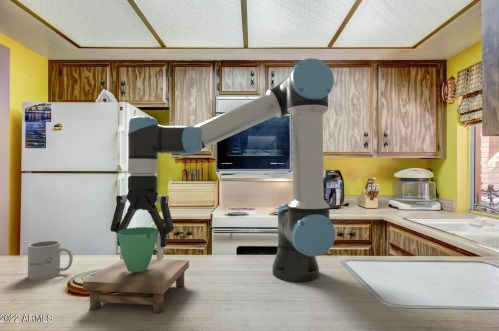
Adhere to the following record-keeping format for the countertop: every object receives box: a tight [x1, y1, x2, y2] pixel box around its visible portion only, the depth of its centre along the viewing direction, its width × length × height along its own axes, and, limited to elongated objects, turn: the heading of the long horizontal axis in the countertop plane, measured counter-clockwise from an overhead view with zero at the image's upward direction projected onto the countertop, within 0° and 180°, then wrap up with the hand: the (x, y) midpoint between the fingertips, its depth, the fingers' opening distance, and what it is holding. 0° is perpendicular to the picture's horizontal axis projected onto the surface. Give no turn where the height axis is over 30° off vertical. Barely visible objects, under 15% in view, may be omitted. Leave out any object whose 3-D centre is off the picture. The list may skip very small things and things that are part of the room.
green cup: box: [117, 226, 159, 272], centre depth 83 cm, size 15×10×10 cm
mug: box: [27, 240, 74, 281], centre depth 99 cm, size 12×9×10 cm
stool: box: [82, 258, 190, 314], centre depth 83 cm, size 20×20×7 cm
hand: (142, 258), depth 83 cm, fingers closed on green cup, 9 cm apart
